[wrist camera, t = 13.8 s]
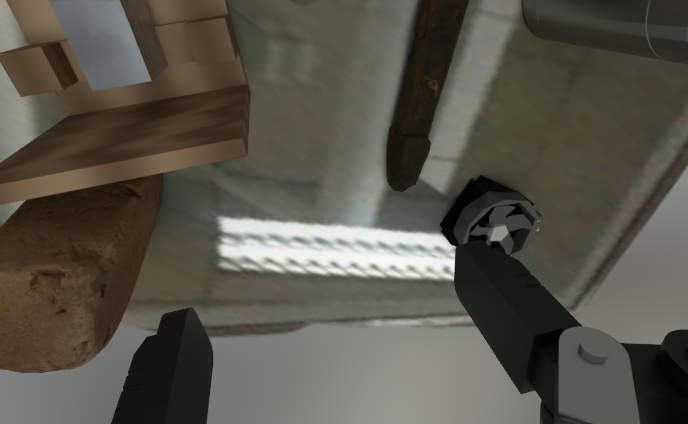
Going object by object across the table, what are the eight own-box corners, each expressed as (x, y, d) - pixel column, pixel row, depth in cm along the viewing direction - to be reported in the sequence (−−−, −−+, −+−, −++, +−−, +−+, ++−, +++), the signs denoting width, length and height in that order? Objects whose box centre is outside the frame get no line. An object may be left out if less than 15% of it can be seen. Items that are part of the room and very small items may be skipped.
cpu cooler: (448, 256, 46) (497, 187, 42) (429, 230, 50) (472, 166, 46) (507, 275, 50) (557, 214, 46) (484, 249, 54) (528, 192, 50)
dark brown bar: (422, -49, 33) (449, -55, 29) (467, -35, 35) (500, -38, 30) (361, 176, 44) (374, 199, 40) (398, 181, 46) (414, 203, 41)
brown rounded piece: (84, 133, 35) (-71, 266, 19) (169, 150, 38) (101, 280, 21) (85, 227, 40) (-36, 400, 23) (161, 237, 42) (100, 399, 26)
